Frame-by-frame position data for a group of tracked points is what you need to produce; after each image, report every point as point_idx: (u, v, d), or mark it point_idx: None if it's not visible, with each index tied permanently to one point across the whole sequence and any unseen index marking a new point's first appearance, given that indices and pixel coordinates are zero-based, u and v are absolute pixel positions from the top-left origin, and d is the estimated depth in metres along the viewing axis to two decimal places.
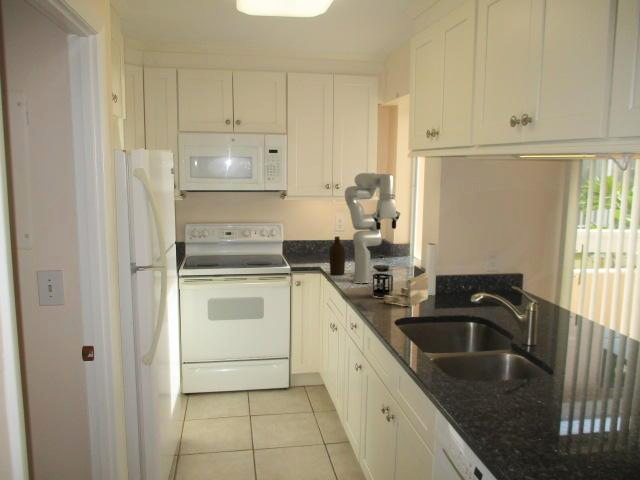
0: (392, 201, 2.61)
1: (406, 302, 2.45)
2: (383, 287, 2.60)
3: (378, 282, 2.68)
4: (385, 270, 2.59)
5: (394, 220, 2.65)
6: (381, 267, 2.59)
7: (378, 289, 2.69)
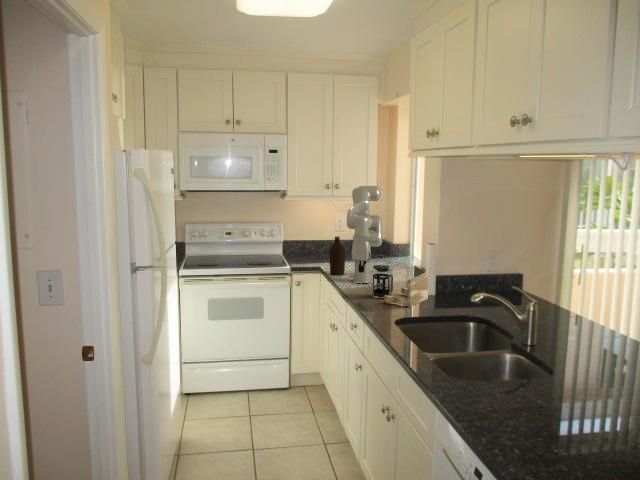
0: None
1: (406, 302, 2.45)
2: (383, 287, 2.60)
3: (378, 282, 2.68)
4: (385, 270, 2.59)
5: None
6: (381, 267, 2.59)
7: (378, 289, 2.69)
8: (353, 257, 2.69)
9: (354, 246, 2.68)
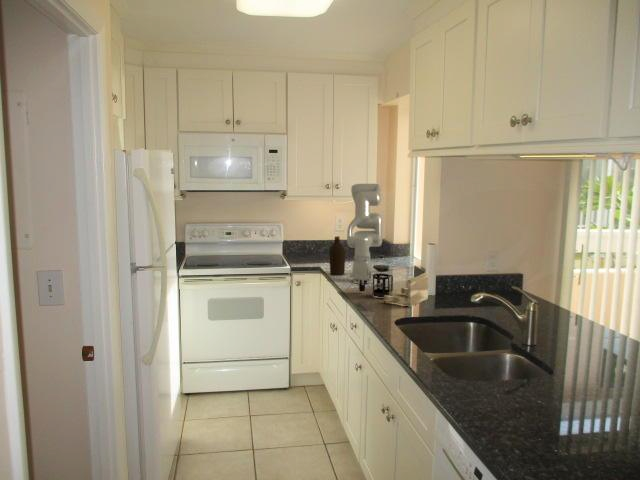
0: None
1: (406, 302, 2.45)
2: (383, 287, 2.60)
3: (378, 282, 2.68)
4: (385, 270, 2.59)
5: (361, 281, 2.72)
6: (381, 267, 2.59)
7: (378, 289, 2.69)
8: (354, 276, 2.71)
9: (355, 266, 2.70)
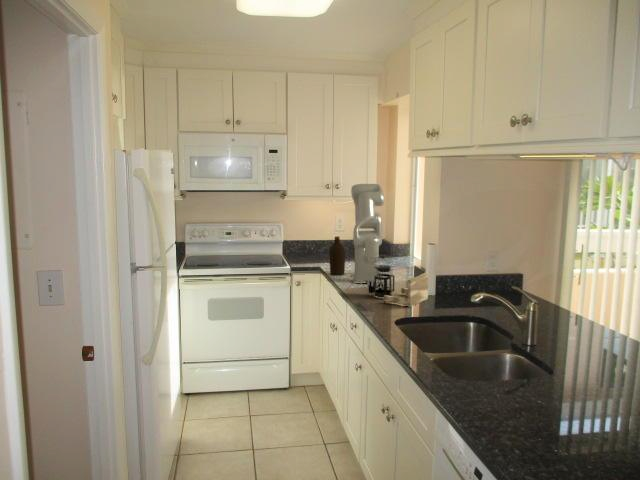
0: None
1: (406, 302, 2.45)
2: (385, 287, 2.59)
3: None
4: (387, 270, 2.58)
5: None
6: (383, 267, 2.59)
7: (380, 289, 2.68)
8: (363, 278, 2.67)
9: (364, 267, 2.66)
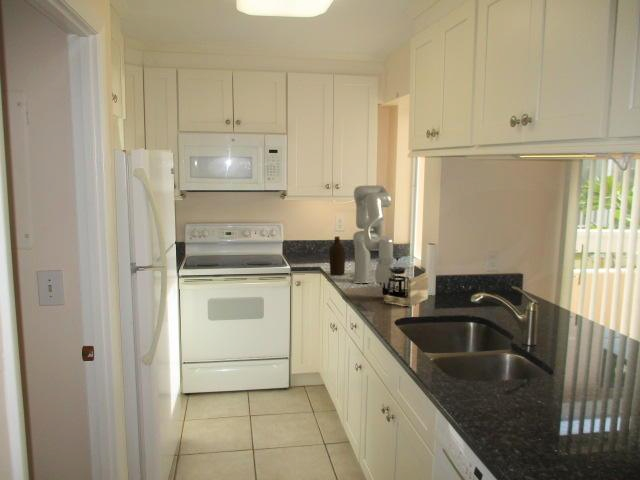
0: None
1: (406, 302, 2.45)
2: (399, 289, 2.54)
3: None
4: (401, 272, 2.53)
5: (385, 285, 2.64)
6: (397, 269, 2.54)
7: (394, 291, 2.63)
8: (377, 280, 2.62)
9: (378, 268, 2.61)
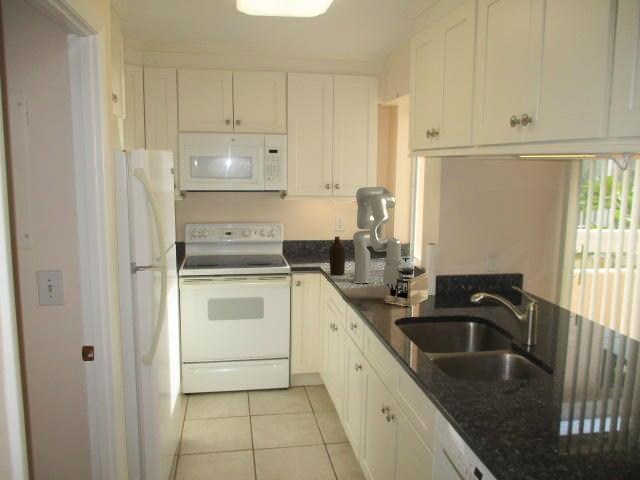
0: None
1: (406, 302, 2.45)
2: None
3: None
4: (410, 273, 2.51)
5: None
6: (406, 270, 2.51)
7: (402, 293, 2.60)
8: (385, 281, 2.59)
9: (386, 269, 2.58)
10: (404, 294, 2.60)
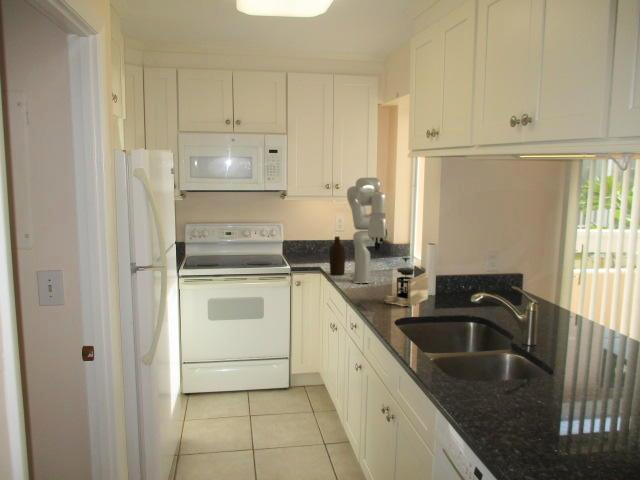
0: None
1: (406, 302, 2.45)
2: None
3: (402, 285, 2.60)
4: (410, 273, 2.51)
5: (377, 240, 2.65)
6: (406, 270, 2.51)
7: (402, 293, 2.60)
8: (369, 234, 2.63)
9: (371, 223, 2.62)
10: (404, 294, 2.60)
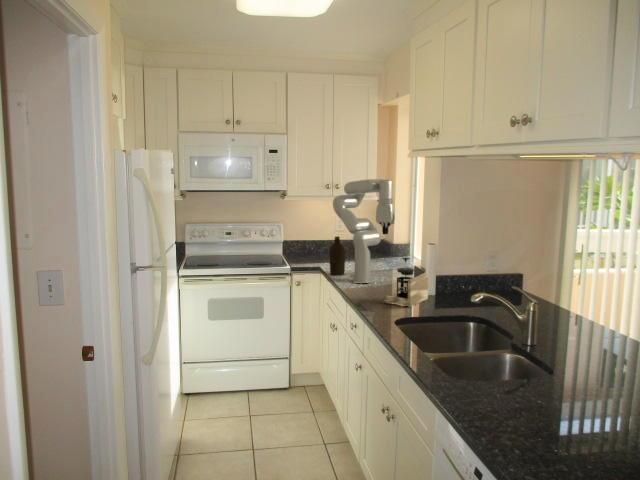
0: None
1: (406, 302, 2.45)
2: None
3: (402, 285, 2.60)
4: (410, 273, 2.51)
5: None
6: (406, 270, 2.51)
7: (402, 293, 2.60)
8: (377, 219, 2.76)
9: (378, 208, 2.75)
10: (404, 294, 2.60)
